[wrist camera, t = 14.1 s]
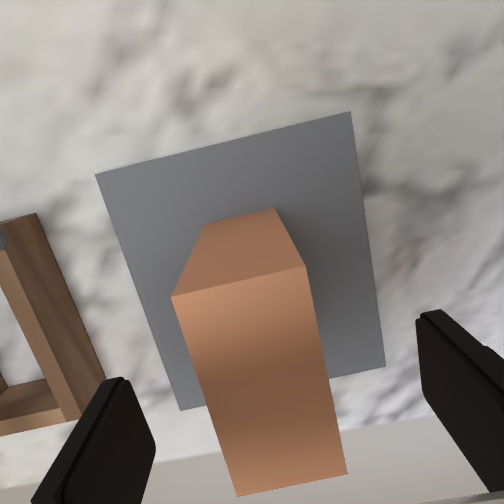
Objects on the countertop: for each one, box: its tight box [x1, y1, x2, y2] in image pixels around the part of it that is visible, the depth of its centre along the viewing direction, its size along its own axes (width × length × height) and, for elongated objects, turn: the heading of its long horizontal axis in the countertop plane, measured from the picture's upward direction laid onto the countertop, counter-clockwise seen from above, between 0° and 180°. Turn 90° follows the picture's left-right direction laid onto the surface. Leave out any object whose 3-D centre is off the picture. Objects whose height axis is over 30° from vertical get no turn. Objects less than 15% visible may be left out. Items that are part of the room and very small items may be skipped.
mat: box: [95, 112, 386, 411], centre depth 21 cm, size 14×16×1 cm
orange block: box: [171, 207, 348, 497], centre depth 16 cm, size 4×8×10 cm, turn 13°
